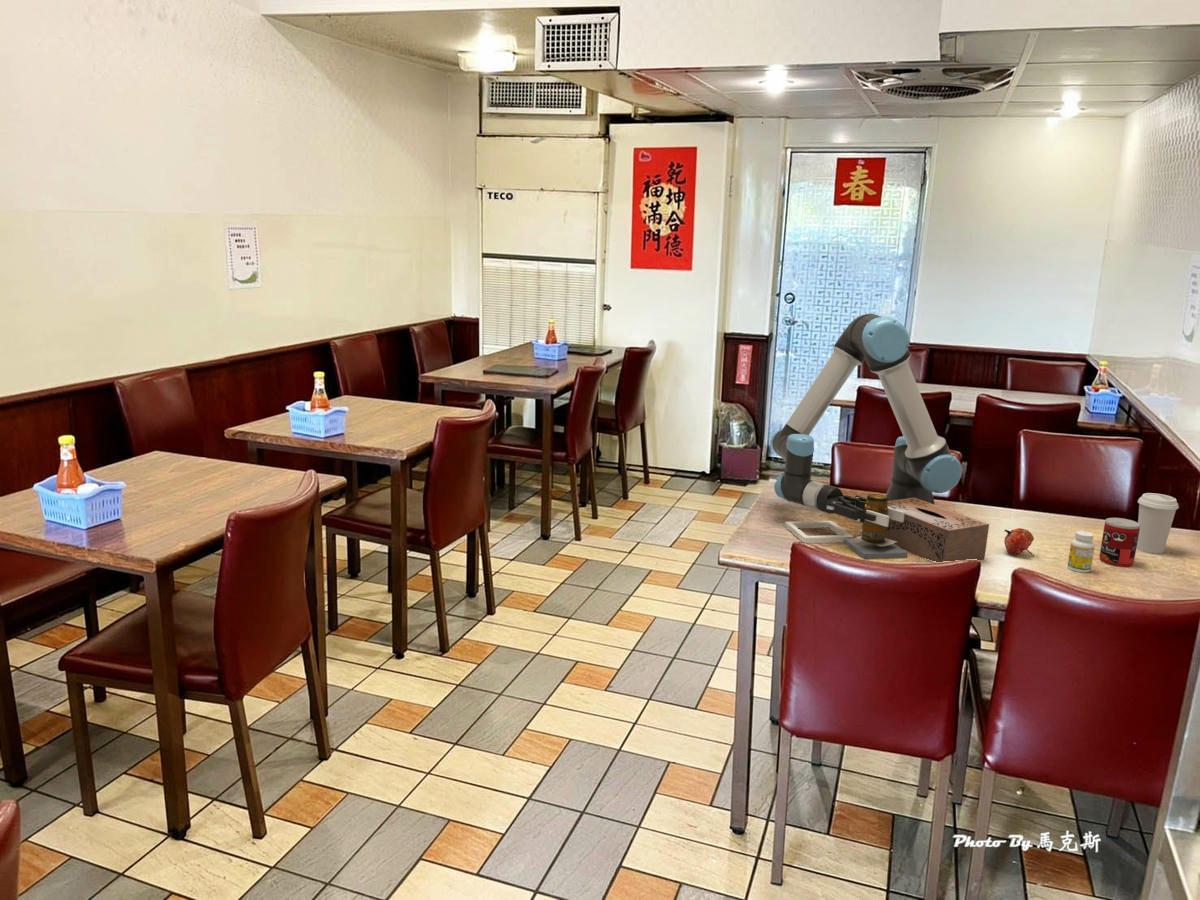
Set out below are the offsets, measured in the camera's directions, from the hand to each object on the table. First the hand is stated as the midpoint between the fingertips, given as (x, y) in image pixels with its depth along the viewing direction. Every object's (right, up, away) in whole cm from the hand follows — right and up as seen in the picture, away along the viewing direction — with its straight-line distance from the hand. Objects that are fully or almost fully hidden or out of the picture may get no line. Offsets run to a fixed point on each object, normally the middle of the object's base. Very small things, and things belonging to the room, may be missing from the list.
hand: (895, 519), depth 233 cm
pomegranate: (+35, -10, +7) cm, 37 cm away
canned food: (+59, -12, +4) cm, 60 cm away
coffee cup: (+74, -10, +14) cm, 76 cm away
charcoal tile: (-3, -9, +6) cm, 11 cm away
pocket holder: (-16, -6, +18) cm, 24 cm away
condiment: (-4, -6, +5) cm, 9 cm away
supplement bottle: (+46, -13, -3) cm, 48 cm away
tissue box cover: (+12, -9, +10) cm, 18 cm away
